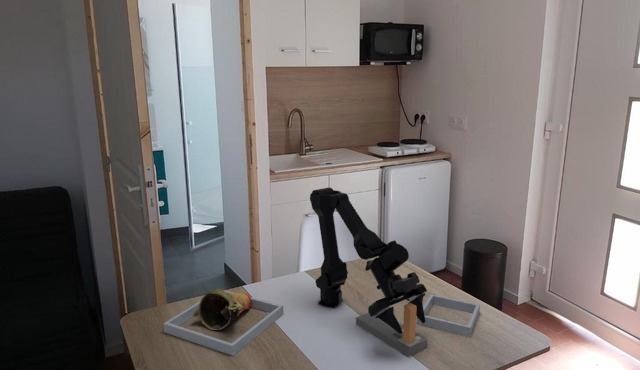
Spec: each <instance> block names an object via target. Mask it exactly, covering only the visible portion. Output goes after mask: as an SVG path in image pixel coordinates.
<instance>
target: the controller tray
mask: <svg viewBox="0 0 640 370" xmlns="http://www.w3.org/2000/svg"><path fill="white" fill-rule="evenodd" d="M433 305H435V306H439V307H444V308H449V309H452V310H453V309H454V310H458V311H462V312H465V313H466V312H467V313H471V314H472V315H471V317H470V319H469V321H468V324H463V323H458V322H454V321H451V320H450V321H449V320H445V319H441V318H438V317H434V316H433V317H432V316H428V315H427V314H428V313H429V311H430V310H431V307H432V306H433ZM423 310H424V315H425V321H426V322H425V323H422V322H421V321H420V320H419V319H418V317H417V316H416V325H419V326H424V327H428V328H431V329H435V330H439V331H443V332H449V333H452V334H456V335H460V336H464V337H469V338H470V337H471V335H472V333H473V330H474V327H475V325H476V322H477V320H478V317H479V315H480V310H481V304H479V303H474V302H469V301H465V300H460V299H456V298H451V297H446V296H442V295H436V294H432V293H431V294H430V295H429V296H428V298H427V299H426V301H425V303H423Z"/></svg>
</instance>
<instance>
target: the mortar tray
mask: <svg viewBox="0 0 640 370" xmlns="http://www.w3.org/2000/svg"><path fill="white" fill-rule="evenodd" d="M224 290H225V289H224ZM225 291H226V292H229V293H234V292H232V291H228V290H225ZM250 297H251V296H250ZM251 301H252V305H251V306H250V308H252V309H257V310H261V311H264V312H268V313H269V314H267V315H266V316H265V317H264V318H262V319H261V320H260V321H259V322H257V323H256V324H254V325H253V326H252V327H251V328H249V329H248V330H246V332H244V333H243V334H242V335H240V336H239V337H238V338H237V339H236V340H234V341H233V342H232V343H231V342H229V341H225V340H222V339H219V338H217V337H213V336H210V335H206V334H203V333H201V332H198V331H194V330H192V329H189V328H186V327H183V326H180V325H182V324H183V323H186V321H189V320H190V319H191V318H193V317H194V316H193V314H194V312H195V311H197V309H198V308H199V304H200V301H198V302H197V303H194V304H193V305H191V306H190V307H188V308H187V309H185V310H183V311H181V312H180V313H179V314H176V315H175V316H173V317H172V318H170V319H168V320H167V321H165V322H164V323H163V330H164V334H168V335H170V336H174V337H176V338H180V339H182V340H185V341H188V342H192V343H194V344H197V345H200V346H203V347H206V348H208V349H212V350H215V351H218V352H221V353H223V354H226V355H229V356H232V357H233V356H235V355H236V354H238V352H239V351H241V350H242V349H243V348H244V347H246V346H247V345H248V344H250V343H251V342H252V341H253V340H254V339H256V337H258V336H259V335H260V334H262V333H263V332H264V331H266V329H267V328H269V327H270V326H272V324H273V323H274V322H276V321H278V319H280V318H281V317H282V316H283V315H284V305H282V304H279V303H275V302H270V301H267V300H262V299H259V298H256V297H251Z"/></svg>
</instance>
